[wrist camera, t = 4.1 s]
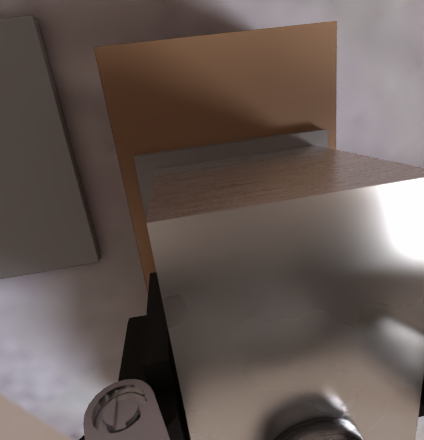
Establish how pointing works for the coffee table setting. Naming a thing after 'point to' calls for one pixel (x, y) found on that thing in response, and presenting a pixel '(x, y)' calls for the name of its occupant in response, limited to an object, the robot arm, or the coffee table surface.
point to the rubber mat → (37, 163)
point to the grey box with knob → (293, 293)
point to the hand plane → (215, 102)
